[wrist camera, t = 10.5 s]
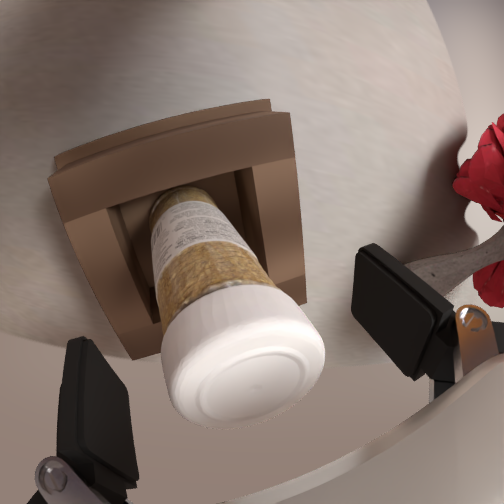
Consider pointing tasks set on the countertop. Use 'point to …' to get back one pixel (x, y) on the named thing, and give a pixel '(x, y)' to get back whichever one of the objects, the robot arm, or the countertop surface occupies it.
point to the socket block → (170, 176)
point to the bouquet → (493, 202)
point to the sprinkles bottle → (225, 320)
